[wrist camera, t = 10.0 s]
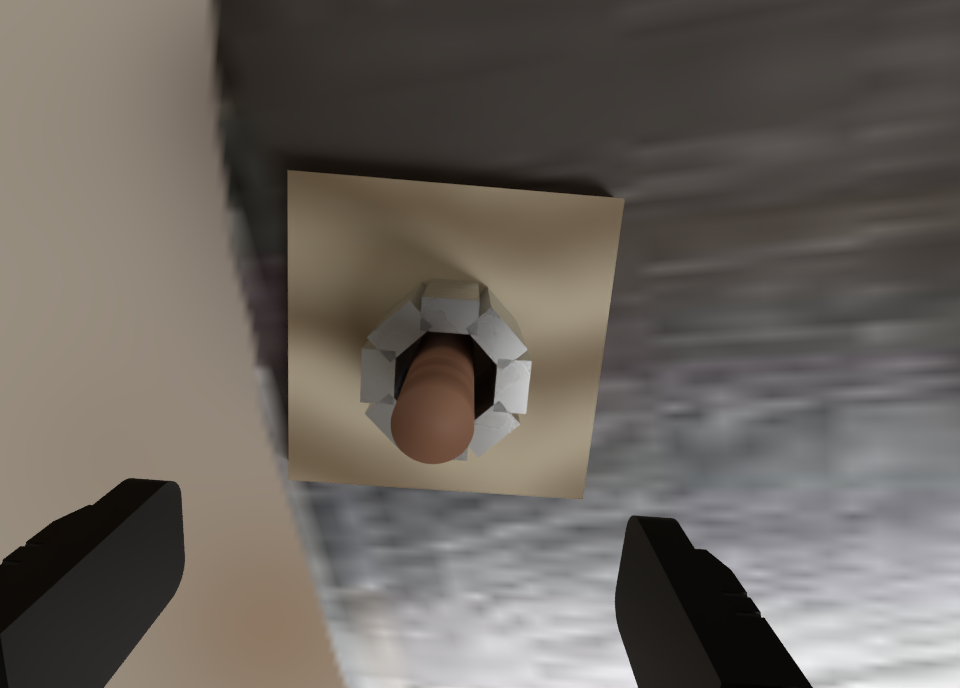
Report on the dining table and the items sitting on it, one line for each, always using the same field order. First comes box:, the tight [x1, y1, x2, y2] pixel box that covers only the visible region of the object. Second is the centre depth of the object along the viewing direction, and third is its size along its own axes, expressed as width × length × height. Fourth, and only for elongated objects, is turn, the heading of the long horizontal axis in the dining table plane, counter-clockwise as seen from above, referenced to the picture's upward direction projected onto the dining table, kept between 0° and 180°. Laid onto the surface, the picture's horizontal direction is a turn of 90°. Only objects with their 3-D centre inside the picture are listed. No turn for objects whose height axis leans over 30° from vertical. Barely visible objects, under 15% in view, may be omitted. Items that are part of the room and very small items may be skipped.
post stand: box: [288, 170, 625, 499], centre depth 21 cm, size 14×14×10 cm
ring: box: [360, 278, 532, 461], centre depth 22 cm, size 6×6×5 cm
